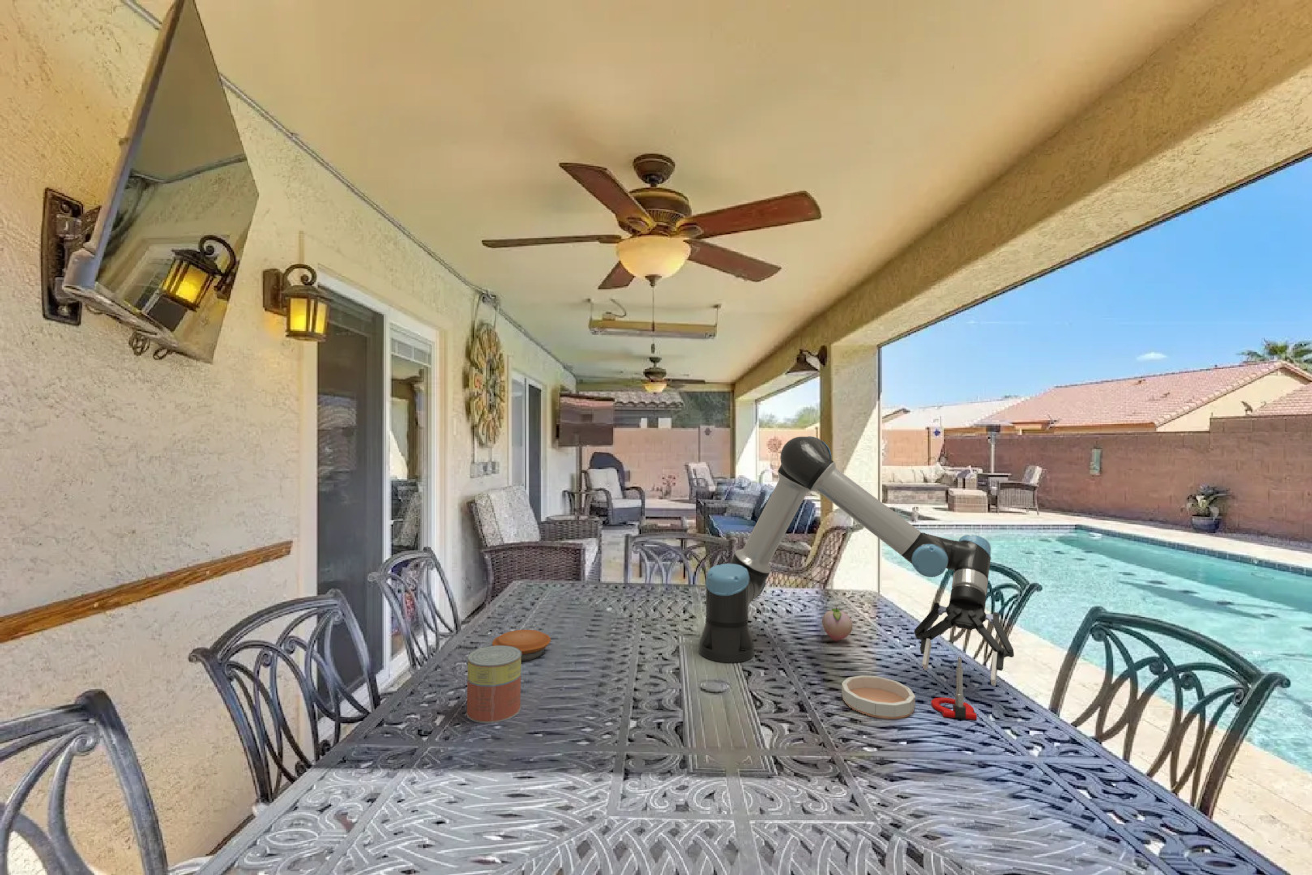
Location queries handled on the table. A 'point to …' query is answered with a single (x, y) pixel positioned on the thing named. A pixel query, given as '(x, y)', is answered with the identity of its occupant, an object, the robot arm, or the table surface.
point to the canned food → (493, 684)
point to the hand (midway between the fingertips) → (957, 674)
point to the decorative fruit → (837, 624)
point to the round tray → (878, 697)
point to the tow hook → (956, 700)
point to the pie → (524, 642)
